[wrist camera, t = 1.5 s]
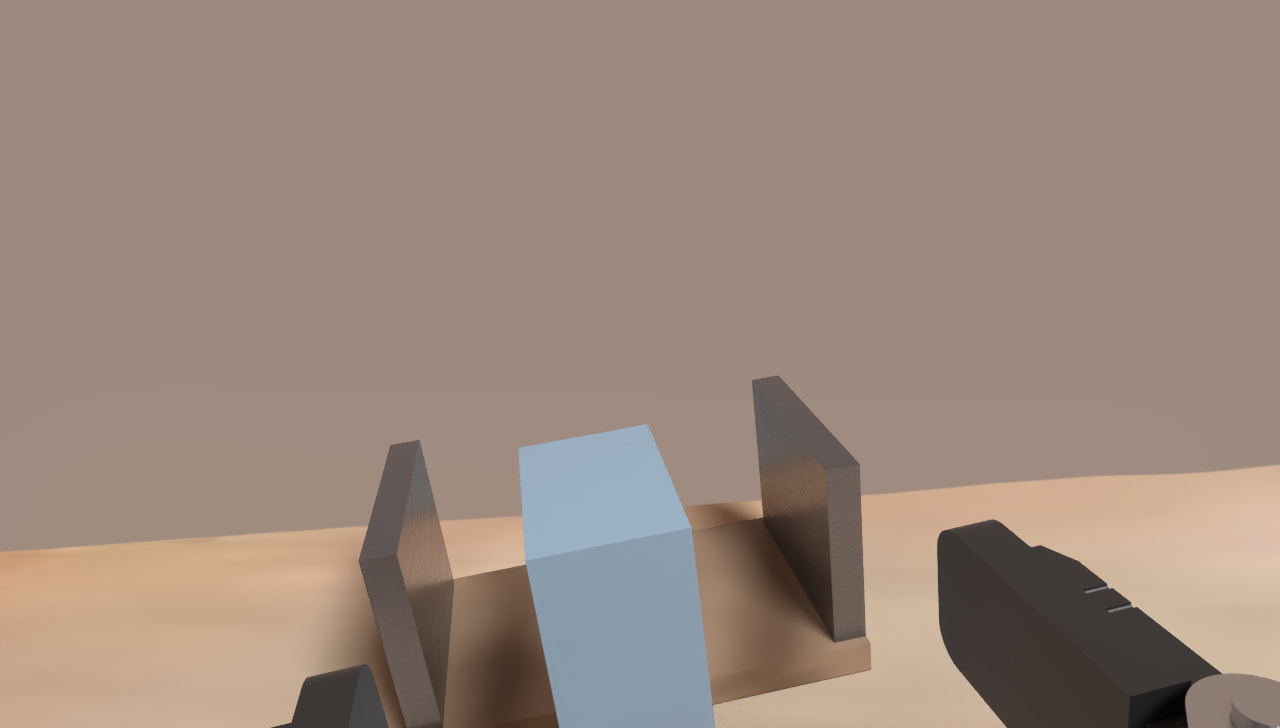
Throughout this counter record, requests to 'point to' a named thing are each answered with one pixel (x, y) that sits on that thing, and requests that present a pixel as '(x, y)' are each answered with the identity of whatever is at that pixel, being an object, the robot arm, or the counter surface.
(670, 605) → the book
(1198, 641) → the counter surface
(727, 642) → the book stand
